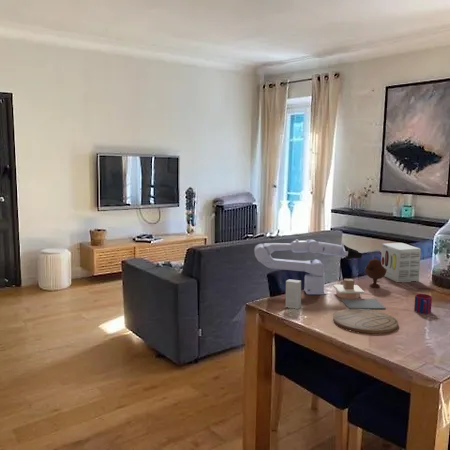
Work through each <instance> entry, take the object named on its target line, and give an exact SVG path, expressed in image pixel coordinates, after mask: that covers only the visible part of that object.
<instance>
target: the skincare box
mask: <svg viewBox="0 0 450 450" xmlns="http://www.w3.org/2000/svg"><path fill="white" fill-rule="evenodd" d="M286 307H288V309H294V308H295V309H294V310H299V309H300V308H301V307H302V280H298V279H290V278H289V279H287V280H285V308H286Z"/></svg>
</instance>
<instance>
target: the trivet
mask: <svg viewBox="0 0 450 450" xmlns="http://www.w3.org/2000/svg"><path fill="white" fill-rule="evenodd" d="M332 317H333V318H332V321H333V322H334V324H335V326H337V325H338V327H339V326H340V327H339V328H341V327H342V329H343V328H344V329H343V330H346V329H347V330H346V331H349V330H351V331H350V332H352V331H355V332H354V333H357V332H359V333H358V334H364V333H366V335H385V334H390V333H392V332H395V331H396V330H397V329H398V328H399V321H398V319H397V318H396V317H394V316H393V315H391V314H389V313H386V312H382V311H378V310H376V309H348V308H346V309H340V310H338V311H335V312H334V314H333V316H332Z"/></svg>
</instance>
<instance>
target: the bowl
mask: <svg viewBox="0 0 450 450" xmlns="http://www.w3.org/2000/svg"><path fill="white" fill-rule="evenodd" d="M336 295H337V297H338V298H341V299H360V297H361V293H339V292H338V291H337V290H336Z"/></svg>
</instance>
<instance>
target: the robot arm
mask: <svg viewBox="0 0 450 450" xmlns="http://www.w3.org/2000/svg"><path fill="white" fill-rule="evenodd" d="M279 251H291V252H292V253H295V254H297V253H311V254H313V255H315V254H317V253H318V254H322V255H326V256H333V257H337V258H338V257H339V258H343V257H345V260H350V259H361V258H362V256H363V253H362V252H359V250H357V249H354V248H351V247H348V246H347V245H345V244H344V242H342V243H341V244H337V243H330V242H324V241H323V242H322V241H316V240H315V239H306V240H299V239H295V240H292V241H291V242H290V243H288V242H287V243H284V242H283V243H282V242H265V243H258V244H256V245H255V246H254V248H253V252H254V256H255V258H256V260H257V261H258V262H259V263H260V264H262V265H263V266H265V267H266V268H268V269H273V270H274V269H275V270H282V271H283V270H285V271H294V272H295V271H296V272H306V273H307V274H305V275H304V284H303V285H304V287H303V291H304V292H305V294H306V295H327V292H326V291H325V278H326V277H325V273H326V267H325V264H324V263H322V262H323V261H321V260H320V259H317V258H315V259H313V260H297V259H296V260H295V259H283V258H273V256H272V255H271V254H273V253H274V252H279Z"/></svg>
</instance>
